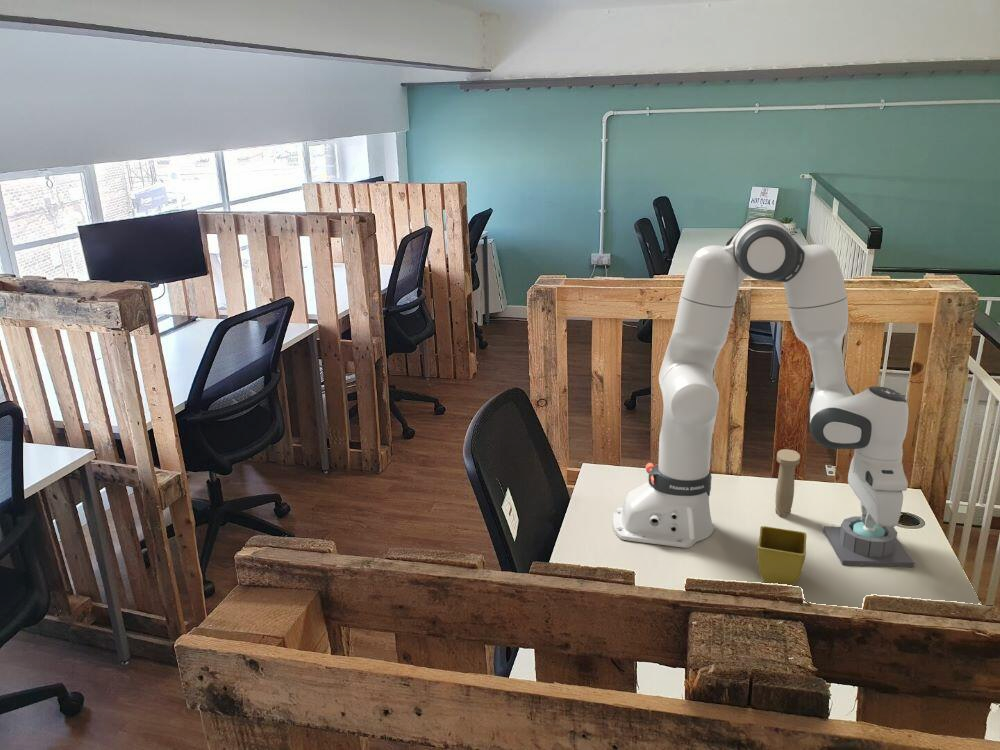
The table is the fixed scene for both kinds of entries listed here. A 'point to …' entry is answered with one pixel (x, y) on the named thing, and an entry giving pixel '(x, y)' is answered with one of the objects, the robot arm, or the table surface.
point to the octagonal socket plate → (866, 546)
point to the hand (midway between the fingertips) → (867, 524)
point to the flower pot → (781, 555)
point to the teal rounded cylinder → (868, 530)
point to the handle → (786, 481)
